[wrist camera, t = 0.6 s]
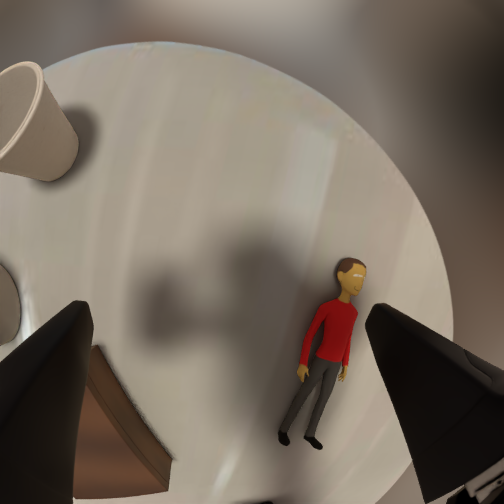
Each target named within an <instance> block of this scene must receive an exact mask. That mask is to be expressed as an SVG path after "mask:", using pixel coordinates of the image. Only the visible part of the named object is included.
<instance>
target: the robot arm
mask: <svg viewBox="0 0 504 504" xmlns="http://www.w3.org/2000/svg"><path fill="white" fill-rule="evenodd" d="M365 329H366V332H367V335H368V338H369V341H370V344H371V347H372V351H373V354H374V357H375V360H376V363H377V366H378V369H379V371H380V373H381V376H382V378H383V381H384V383H385V386H386V388H387V391H388V393H389V396H390V399H391V401H392V404H393V407H394V409H395V412H396V415H397V417H398V420H399V423H400V426H401V428H402V431H403V434H404V437H405V440H406V443H407V446H408V449H409V452H410V455H411V458H412V462H413V465H414V468H415V471H416V474H417V477H418V481H419V484H420V488H421V491H422V495H423V499H424V502H425V504H427V503H429V502H431V501H434V500H436V499H437V498H440V497H442V496H444V495H445V494H447V493H449V492H451V491H453V490H455V489H456V488H458V487H460V486H462V485H464V487H462V488H461V489H460V490H459V491H457V492H456V493H455V494H453V496H451V497H450V498H448V499H447V503H446V504H504V371H503V370H501V369H500V368H498V367H496V366H494V365H492V364H490V363H488V362H486V361H484V360H483V359H481V358H479V357H477V356H475V355H474V354H472V353H470V352H469V351H467V350H465V349H463V348H462V347H460V346H459V345H457V344H455V343H453V342H452V341H450V340H448V339H447V338H445V337H443V336H442V335H440V334H438V333H436V332H435V331H433V330H431V329H430V328H428V327H426V326H424V325H423V324H421V323H419V322H417V321H416V320H414V319H412V318H411V317H409V316H407V315H405V314H404V313H402V312H400V311H398V310H397V309H395V308H393V307H391V306H390V305H388V304H386V303H377V304H375V305H374V306H373V307H372V309H371V311H370V313H369V316H368V318H367V320H366V322H365ZM93 330H94V325H93V320H92V316H91V312H90V308H89V305H88V303H87V302H86V301H78V300H75V301H73V302H71V303H70V304H69V305H68V306H66V307H65V308H64V309H62V310H61V311H60V312H59V313H57V314H56V315H55V316H54V317H52V318H51V319H50V320H49V321H48V322H46V323H45V324H44V325H43V326H41V327H40V328H39V329H38V330H37V331H35V332H34V333H33V334H32V335H31V336H30V337H28V338H27V339H26V340H25V341H24V342H23V343H21V344H20V345H19V346H18V347H17V348H16V349H15V350H13V351H12V352H11V353H10V354H9V355H8V356H7V357H6V358H4V359H3V360H2V361H1V362H0V504H73V482H74V466H75V455H76V445H77V437H78V429H79V422H80V415H81V409H82V404H83V398H84V393H85V388H86V383H87V377H88V370H89V361H90V352H91V344H92V337H93ZM262 504H273V503H272V502H270V501H269V502H265V503H262Z"/></svg>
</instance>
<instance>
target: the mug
mask: <svg viewBox="0 0 504 504" xmlns="http://www.w3.org/2000/svg"><path fill="white" fill-rule="evenodd" d="M19 323H20V302H19V297H18V293H17V290H16V287H15V284H14V282H13V280H12V278H11V277H10V275H9V273H8V272H7V271H6V270H5V269H4V268H3V267H2V266H1V265H0V346H1V345H3V344H6V343H8V342H9V341H11V340H12V339H13V338H14V336H15V335H16V333H17V331H18V328H19Z"/></svg>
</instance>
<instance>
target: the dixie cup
mask: <svg viewBox="0 0 504 504" xmlns="http://www.w3.org/2000/svg"><path fill="white" fill-rule="evenodd" d="M78 147H79V142H78V137H77V134H76V133H75V131H74V130H73V127H72V126H71V124H70V123H69V121H68V120H67V118H66V117H65V115H64V113H63V112H62V110H61V108H60V107H59V105H58V103H57V102H56V100H55V98H54V97H53V95H52V93H51V91H50V90H49V88H48V86H47V84H46V82H45V81H44V74H43V71H42V69H41V68H40V66H39V65H38V64H36V63H34V62H21V63H17V64H15V65H13V66H11V67H9V68H7V69H5V70H4V71H2V72H1V73H0V172H5V173H9V174H14V175H19V176H24V177H28V178H33V179H38V180H42V181H53V180H56V179H58V178H60V177H62V176H63V175H64V174H65V173H66V172H67V171H68V170H69V169H70V167H71V166H72V164H73V163H74V161H75V158H76V156H77V153H78Z"/></svg>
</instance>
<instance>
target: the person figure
mask: <svg viewBox="0 0 504 504" xmlns="http://www.w3.org/2000/svg"><path fill="white" fill-rule="evenodd" d="M365 276H366V266H365V265H364V264H363V263H362V262H361V261H360V260H358V259H355V258H347V259H345V260H344V261H342V262H341V264H340V265H339V268H338V271H337V278H338V281H339V283H340V285H341V287H342V293H341V295H340V296H339V297H338V298H336V299H334V300H332V301H329V302H326V303H324V304H322V305H321V306H320V307H319V308H318V311H317V313H316V315H315V317H314V319H313V321H312V324H311V326H310V328H309V330H308V332H307V334H306V336H305V338H304V341H303V346H302V351H301V357H300V362H299V368H298V370H297V374H298V376H299V378H300V380H301V381H302V382H303V384H302V386H301V389H300V391H299V392H298V394H297V395H296V397H295V399H294V401H293V403H292V405H291V407H290V409H289V412H288V414H287V416H286V418H285V420H284V422H283V424H282V426H281V427H280V430H279V432H278V440H279V442H280V443H281V444H282V445H285V446H288V445H289V444H290V440H289V438H288V435H287V432H288V430H289V428H290V426H291V424H292V422H293V421H294V419H295V417H296V416H297V414H298V412H299V411H300V409H301V407H302V405H303V404H304V402H305V400H306V398H307V397H308V395H309V394H310V393H311V391H312V390H313V388H314V387H315V385H316V384H317V382H318V381H319V380H320V378H321V376H322V375H323V380H322V385H321V390H320V395H319V398H318V400H317V402H316V404H315V407H314V409H313V412H312V415H311V418H310V421H309V425H308V428H307V430H306V432H305V435H304V439H305V440H306V441H308V442H309V443H310V444H311V445H312V446H313V447H314V448H315V449H318V450H321V449H322V448H323V446H322V444H321V443H320V442H319V441H318V440H317V439H316V438H315V437H314V436H315V432H316V428H317V425H318V422H319V420H320V417H321V415H322V413H323V410H324V408H325V405H326V403H327V401H328V399H329V397H330V395H331V392H332V390H333V387H334V384H335V381H336V378H337V374H338V372H339V369H340V364H341V361H342V367H343V369H342V372H341V374H342V375H341V374H339V375H338V376H340V375H341V376H340V377H341V378H340V377H338V378H340V379H339V380H338V381H340V380H341V379H342V378H343V377H344V378H343V380H344V379H345V376H346V372H347V366H348V361H349V353H350V341H351V335H352V330H353V326H354V323H355V320H356V318H357V315H358V312H357V310H356V309H355V307H354V306H353V305H352V303H351V302H350V300H349V299H350V296H351V295H354V296H356V295H358V293H359V292H360V290H361V288H362V284H363V281H364V278H365ZM323 321H324V337H323V341H322V343H321V345H320V347H319V348H318V350H317V351H316V354H315V356H314V358H313V360H312V363H311V366H310V368H309V370H308V367H307V363H308V357H309V352H310V347H311V343H312V340H313V337H314V336H315V334H316V332H317V330H318V328H319V327H320V325H321V323H322V322H323ZM305 372H306V373H307V375H306V377H305V379H304V374H305ZM343 380H342V382H343Z"/></svg>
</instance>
